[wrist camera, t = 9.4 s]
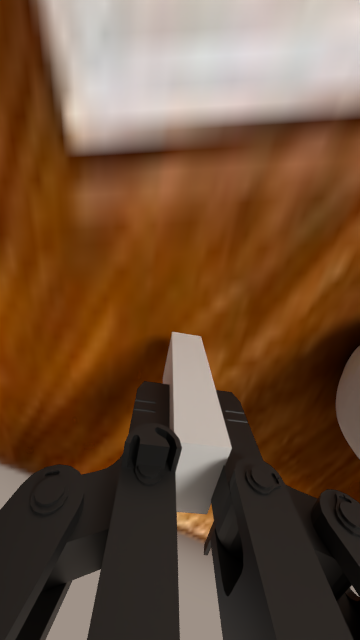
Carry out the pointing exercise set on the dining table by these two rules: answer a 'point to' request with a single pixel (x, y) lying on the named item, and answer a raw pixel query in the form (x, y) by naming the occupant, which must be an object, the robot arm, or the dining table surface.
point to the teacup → (350, 402)
